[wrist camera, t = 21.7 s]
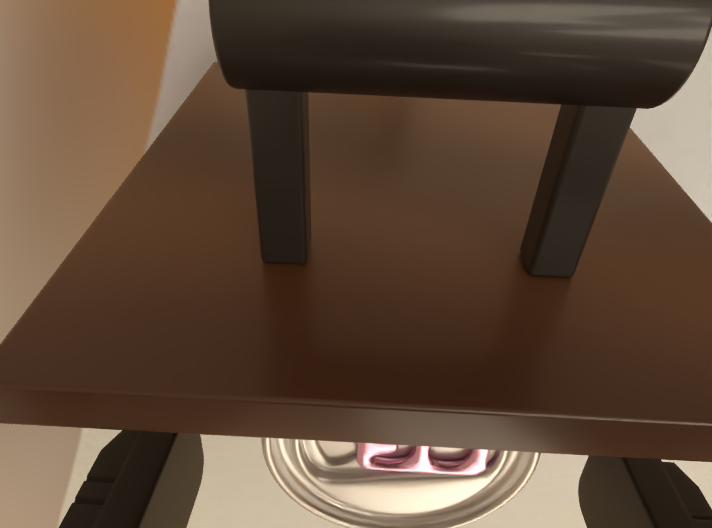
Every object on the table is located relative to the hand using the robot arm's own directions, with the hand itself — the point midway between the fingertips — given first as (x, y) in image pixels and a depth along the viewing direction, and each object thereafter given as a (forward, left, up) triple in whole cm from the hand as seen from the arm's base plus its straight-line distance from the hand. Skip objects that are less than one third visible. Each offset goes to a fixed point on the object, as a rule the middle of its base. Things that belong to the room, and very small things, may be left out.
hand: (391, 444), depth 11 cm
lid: (-4, 0, -3) cm, 5 cm away
